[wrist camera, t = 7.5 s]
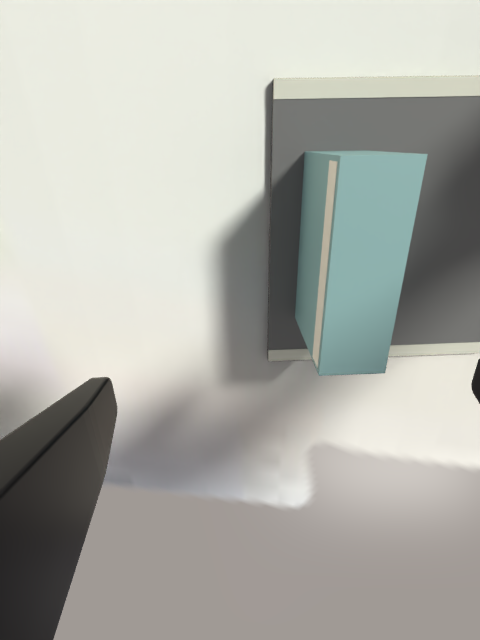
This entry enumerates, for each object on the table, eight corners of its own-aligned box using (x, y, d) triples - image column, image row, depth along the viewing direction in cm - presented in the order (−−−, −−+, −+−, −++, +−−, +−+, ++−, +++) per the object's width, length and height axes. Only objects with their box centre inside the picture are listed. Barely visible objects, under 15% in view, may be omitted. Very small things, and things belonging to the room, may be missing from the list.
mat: (568, 75, 17) (576, 74, 17) (480, 349, 24) (484, 352, 23) (272, 79, 17) (273, 78, 16) (267, 357, 23) (268, 361, 23)
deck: (365, 150, 18) (428, 154, 12) (344, 316, 22) (385, 373, 16) (304, 151, 18) (340, 155, 12) (294, 317, 22) (318, 375, 16)
